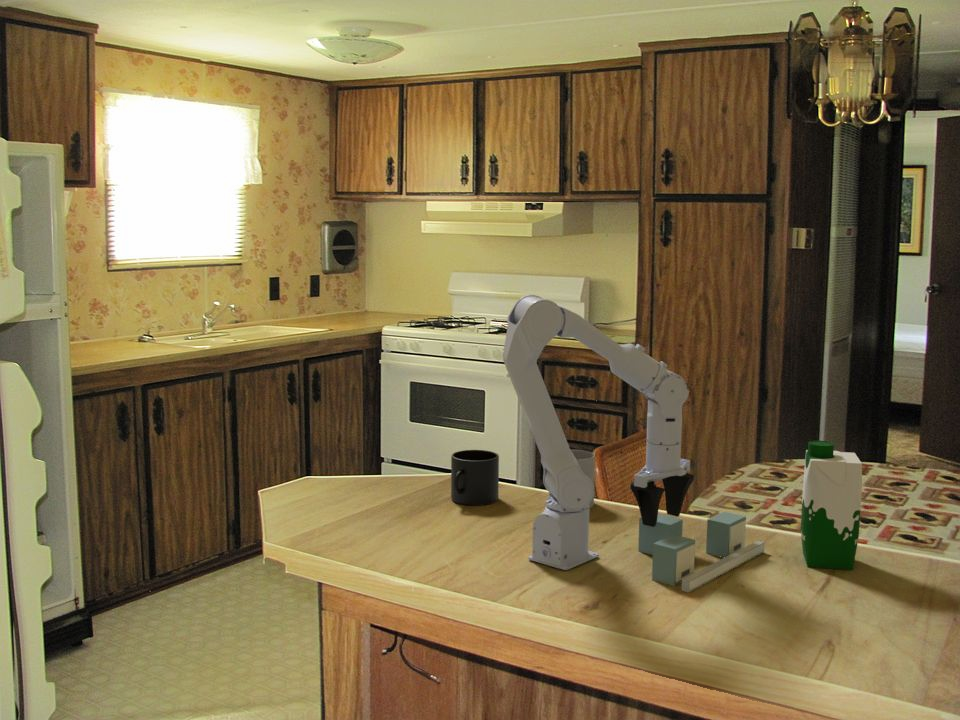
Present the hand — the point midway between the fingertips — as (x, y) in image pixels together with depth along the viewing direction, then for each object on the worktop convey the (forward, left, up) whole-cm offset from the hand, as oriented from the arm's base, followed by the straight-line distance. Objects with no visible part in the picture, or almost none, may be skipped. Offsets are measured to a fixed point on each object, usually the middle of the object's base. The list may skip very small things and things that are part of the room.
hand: (661, 520), depth 174 cm
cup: (+13, +28, -6) cm, 31 cm away
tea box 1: (0, 0, -6) cm, 6 cm away
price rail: (-1, -12, -6) cm, 14 cm away
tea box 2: (-9, -8, -6) cm, 13 cm away
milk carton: (+15, -23, -6) cm, 28 cm away
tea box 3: (+8, -8, -6) cm, 13 cm away
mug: (+1, +44, -6) cm, 44 cm away
